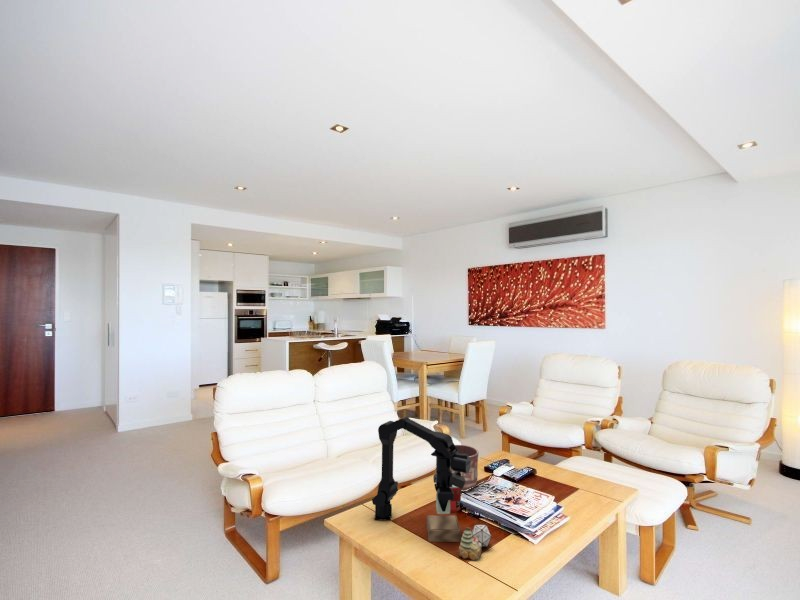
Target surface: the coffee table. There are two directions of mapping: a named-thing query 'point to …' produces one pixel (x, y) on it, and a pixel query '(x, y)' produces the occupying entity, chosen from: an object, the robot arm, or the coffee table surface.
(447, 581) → the coffee table surface
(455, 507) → the canned food
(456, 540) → the pedestal
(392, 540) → the coffee table surface
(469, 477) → the pottery
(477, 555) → the ornament
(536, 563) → the coffee table surface
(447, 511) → the sage block
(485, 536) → the game die
